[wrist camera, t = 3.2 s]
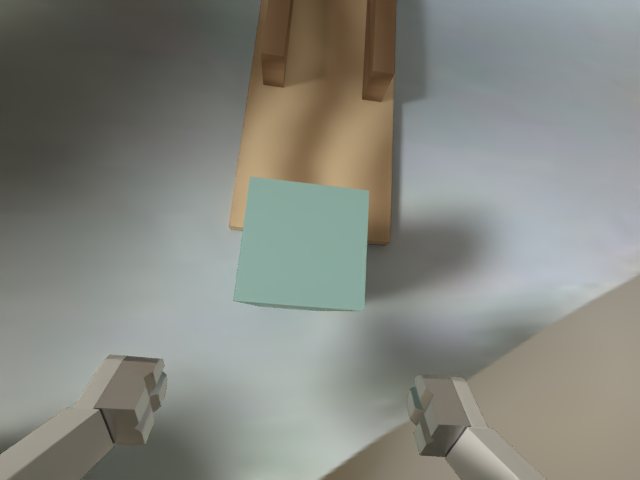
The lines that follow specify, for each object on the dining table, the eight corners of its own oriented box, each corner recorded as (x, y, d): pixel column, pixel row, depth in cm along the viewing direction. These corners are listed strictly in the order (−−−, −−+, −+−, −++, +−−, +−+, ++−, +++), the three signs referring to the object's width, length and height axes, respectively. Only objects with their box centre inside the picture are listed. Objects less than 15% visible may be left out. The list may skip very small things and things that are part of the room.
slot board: (231, 229, 22) (204, 185, 14) (269, -39, 27) (265, -177, 20) (385, 245, 23) (438, 212, 15) (392, -16, 28) (434, -138, 21)
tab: (259, 306, 21) (233, 300, 9) (265, 247, 22) (249, 176, 10) (318, 311, 22) (364, 311, 10) (323, 253, 22) (369, 190, 11)
